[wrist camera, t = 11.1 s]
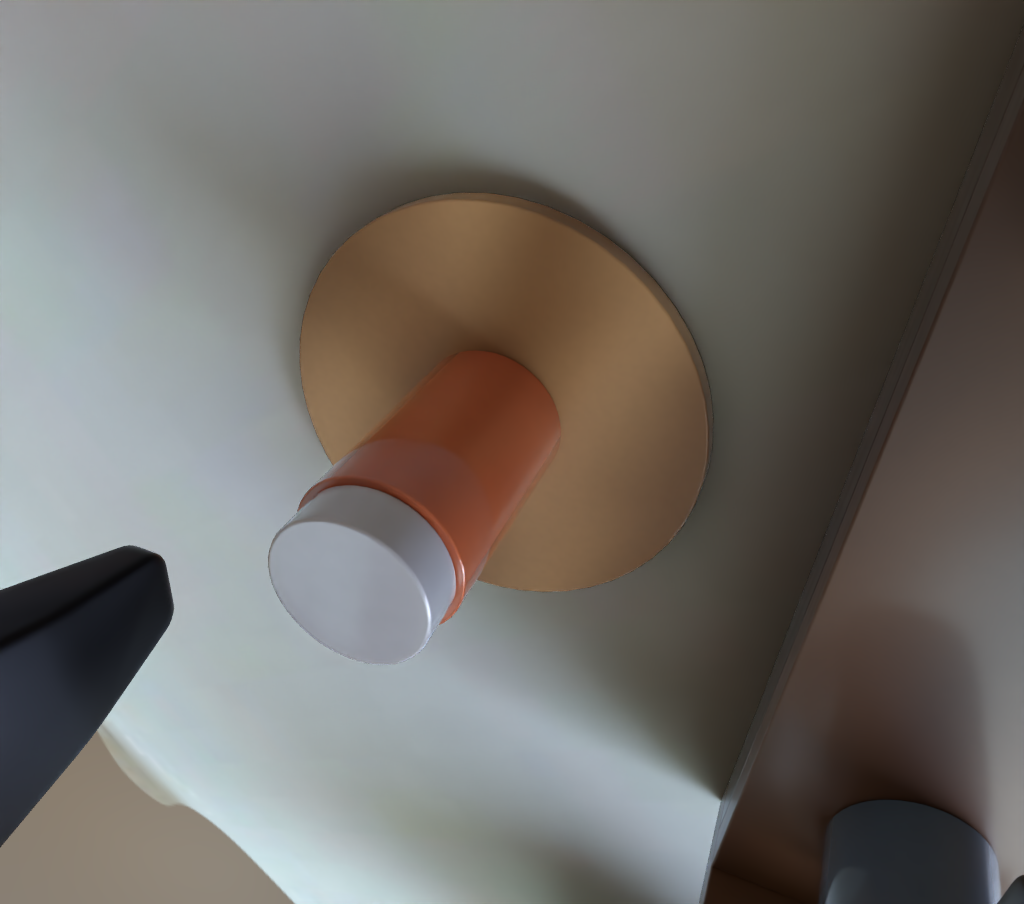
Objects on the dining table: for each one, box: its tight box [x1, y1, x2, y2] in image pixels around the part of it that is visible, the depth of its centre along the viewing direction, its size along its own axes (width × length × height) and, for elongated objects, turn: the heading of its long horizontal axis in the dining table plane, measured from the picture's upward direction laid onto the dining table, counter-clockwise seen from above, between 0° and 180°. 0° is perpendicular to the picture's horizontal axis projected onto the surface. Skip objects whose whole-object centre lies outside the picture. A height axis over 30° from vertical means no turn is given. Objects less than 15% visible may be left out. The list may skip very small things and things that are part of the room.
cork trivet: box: [300, 193, 714, 592], centre depth 22 cm, size 11×11×1 cm
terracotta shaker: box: [268, 350, 561, 665], centre depth 19 cm, size 4×4×7 cm
